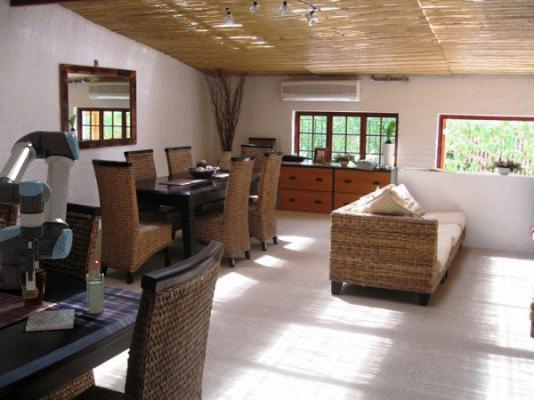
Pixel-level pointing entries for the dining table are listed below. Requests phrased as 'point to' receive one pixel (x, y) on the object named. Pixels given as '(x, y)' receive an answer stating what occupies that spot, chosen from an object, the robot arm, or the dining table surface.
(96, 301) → the press column
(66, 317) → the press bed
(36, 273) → the coffee cup
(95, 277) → the lever
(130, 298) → the dining table surface
